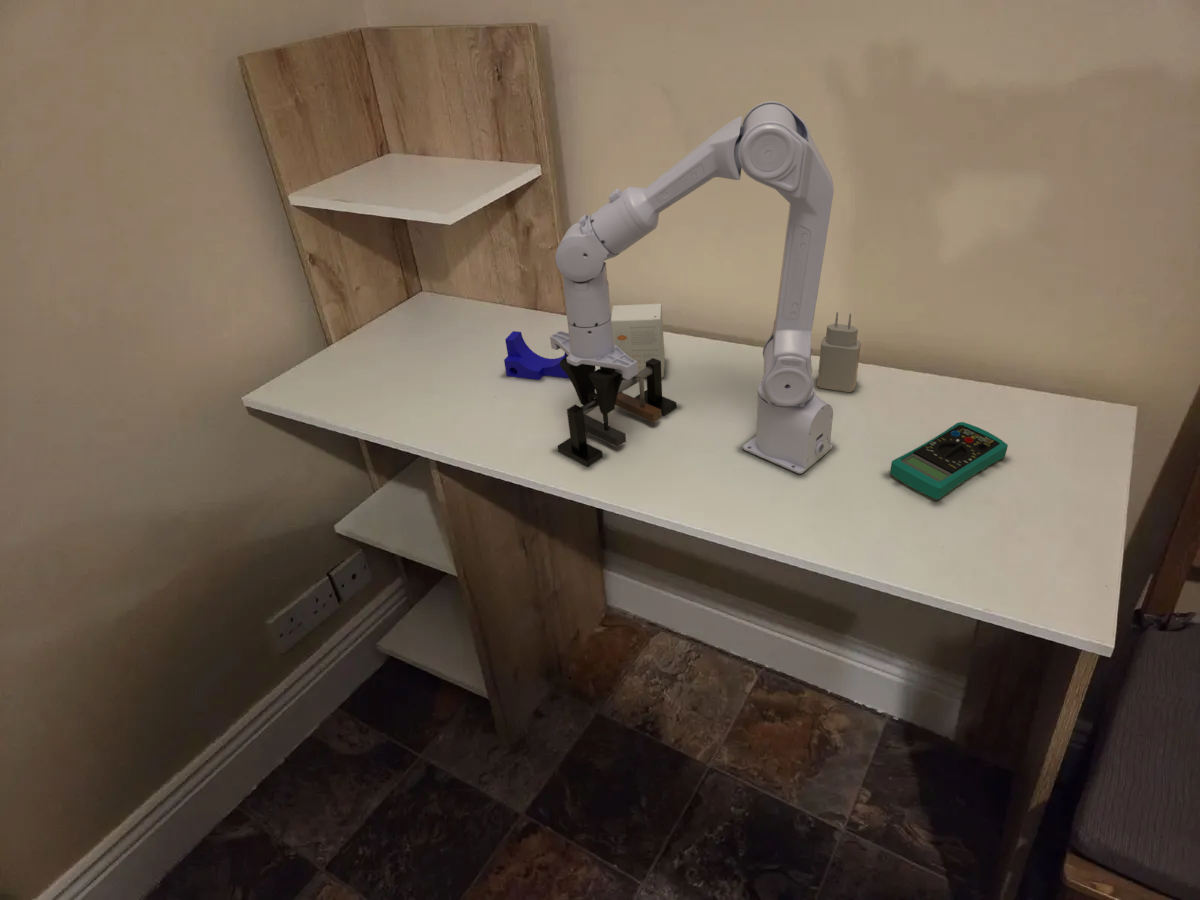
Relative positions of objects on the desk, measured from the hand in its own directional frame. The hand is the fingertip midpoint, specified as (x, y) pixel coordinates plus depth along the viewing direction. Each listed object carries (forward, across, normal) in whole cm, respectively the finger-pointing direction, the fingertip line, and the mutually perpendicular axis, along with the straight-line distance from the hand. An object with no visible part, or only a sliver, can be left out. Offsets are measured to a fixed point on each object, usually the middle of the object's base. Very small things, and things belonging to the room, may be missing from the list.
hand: (597, 406), depth 112 cm
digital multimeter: (+6, +40, +23) cm, 47 cm away
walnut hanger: (+5, 0, +8) cm, 9 cm away
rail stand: (+6, 0, +4) cm, 7 cm away
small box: (+6, -9, +18) cm, 21 cm away
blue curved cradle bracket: (+6, -21, +8) cm, 23 cm away
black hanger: (+5, 0, 0) cm, 5 cm away
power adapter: (+2, +18, +33) cm, 37 cm away
